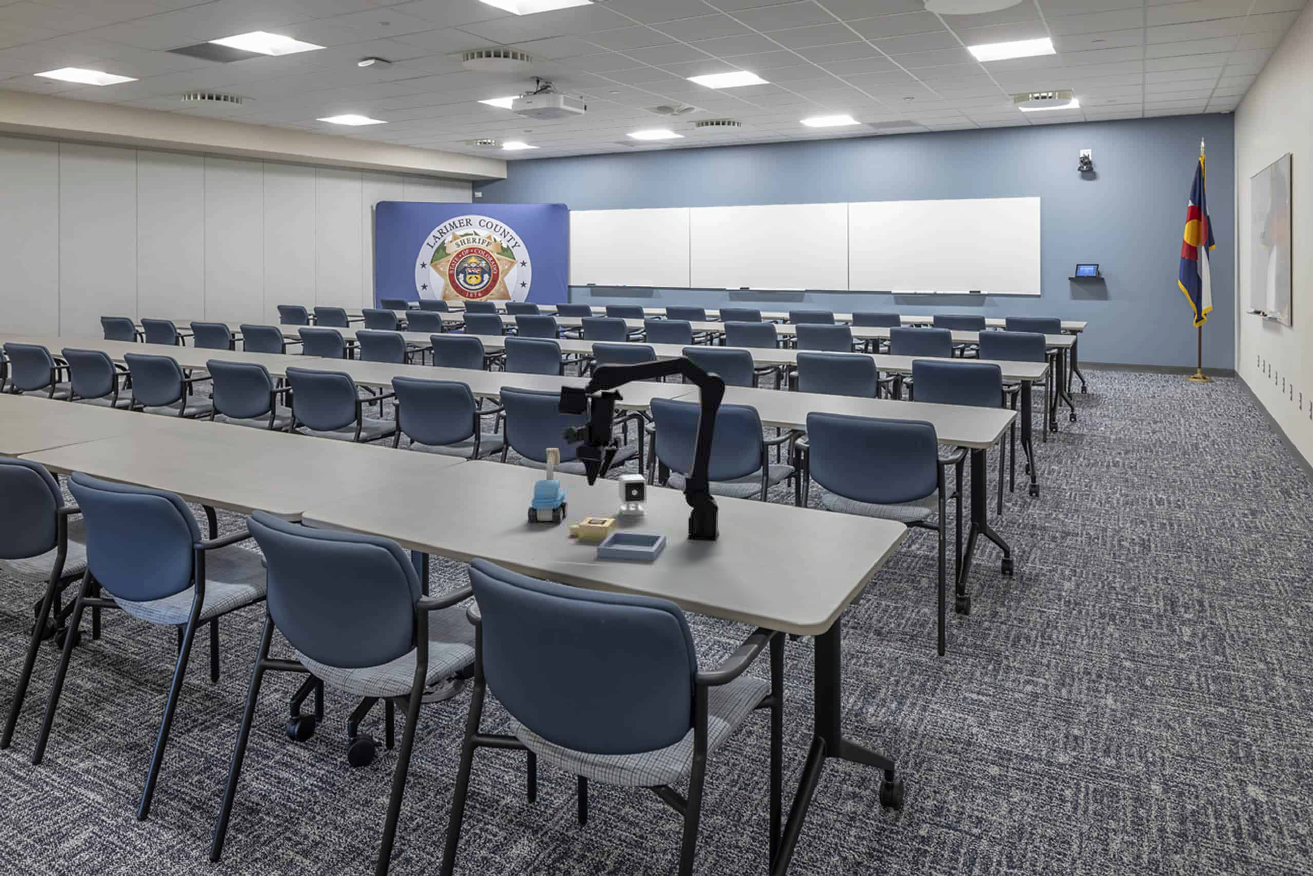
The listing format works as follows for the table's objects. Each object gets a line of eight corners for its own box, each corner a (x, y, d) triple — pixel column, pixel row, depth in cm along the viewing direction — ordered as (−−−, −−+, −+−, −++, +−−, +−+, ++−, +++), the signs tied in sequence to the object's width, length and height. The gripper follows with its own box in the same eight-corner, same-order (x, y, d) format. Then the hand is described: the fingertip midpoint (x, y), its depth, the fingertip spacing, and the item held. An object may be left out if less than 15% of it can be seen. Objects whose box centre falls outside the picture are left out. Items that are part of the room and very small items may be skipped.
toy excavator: (572, 509, 250) (571, 446, 247) (560, 526, 234) (559, 459, 231) (541, 508, 251) (540, 446, 248) (526, 525, 235) (525, 459, 231)
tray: (665, 545, 218) (666, 535, 218) (653, 562, 206) (653, 551, 205) (612, 541, 221) (612, 531, 221) (597, 558, 209) (597, 547, 208)
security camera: (622, 517, 242) (622, 480, 240) (618, 510, 249) (618, 474, 247) (646, 516, 243) (646, 479, 241) (641, 509, 250) (641, 473, 248)
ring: (615, 532, 227) (614, 518, 226) (607, 541, 220) (607, 526, 220) (575, 530, 229) (575, 516, 228) (567, 538, 222) (566, 524, 222)
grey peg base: (620, 533, 228) (620, 517, 227) (610, 544, 219) (610, 527, 218) (584, 531, 230) (584, 515, 229) (573, 541, 221) (573, 525, 220)
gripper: (581, 408, 230) (576, 469, 233) (556, 418, 212) (551, 485, 215) (624, 413, 228) (619, 475, 231) (603, 424, 210) (597, 491, 213)
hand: (596, 481), depth 222 cm, fingers open, 9 cm apart
